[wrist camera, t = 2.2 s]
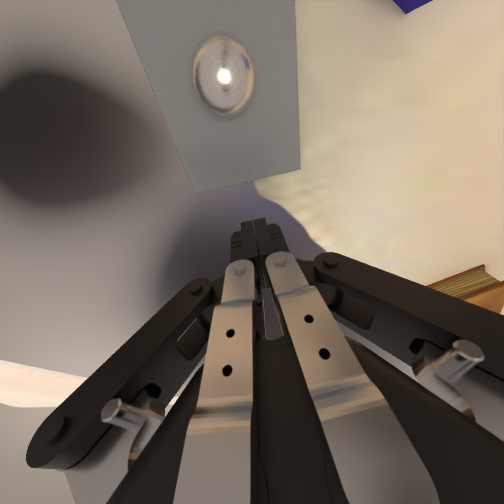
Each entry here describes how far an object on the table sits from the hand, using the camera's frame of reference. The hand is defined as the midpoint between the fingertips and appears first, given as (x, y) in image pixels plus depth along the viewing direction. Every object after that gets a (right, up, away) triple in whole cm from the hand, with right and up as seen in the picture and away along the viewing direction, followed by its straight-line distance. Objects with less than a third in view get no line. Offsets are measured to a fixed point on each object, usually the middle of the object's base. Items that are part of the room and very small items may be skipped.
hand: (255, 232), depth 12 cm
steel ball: (-2, +12, +3) cm, 13 cm away
